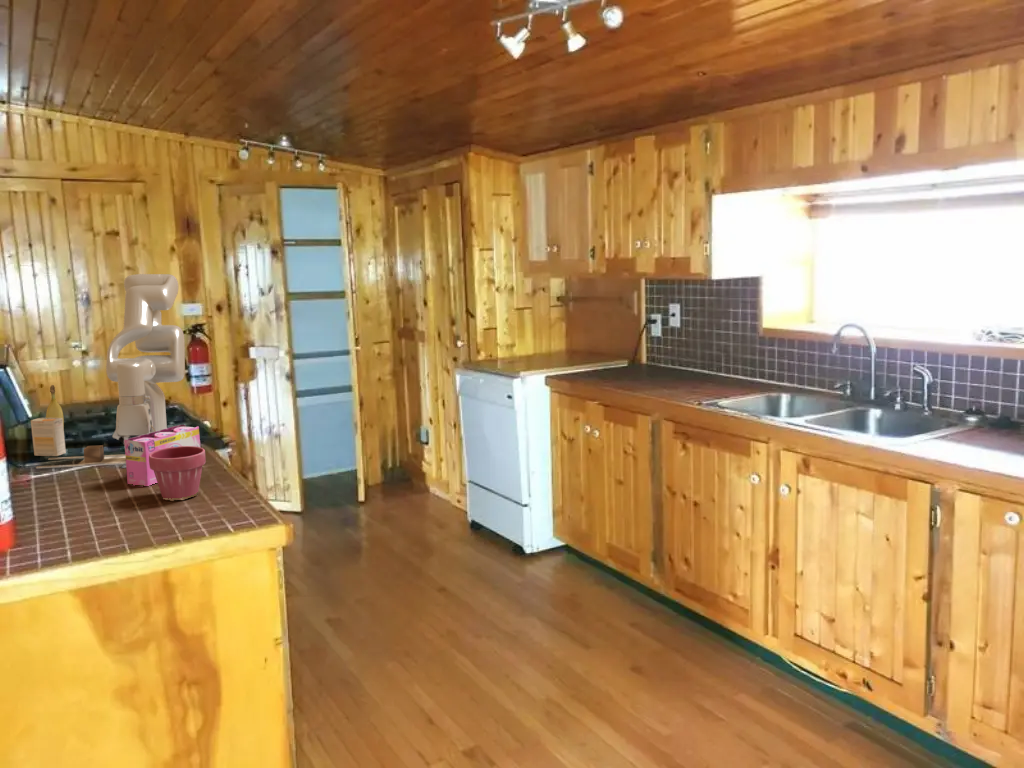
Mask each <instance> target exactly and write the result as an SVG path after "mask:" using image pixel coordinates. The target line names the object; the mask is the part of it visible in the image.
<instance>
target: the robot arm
mask: <svg viewBox="0 0 1024 768" xmlns="http://www.w3.org/2000/svg"><path fill="white" fill-rule="evenodd" d="M123 286H124V287H123V288H124V290H125V297H124V298H125V299H124V314H123V315H124V316H123V318H124V319H123V328H122V330H120V331H119V332H118V333H117V334H116V336H114V337H113V339H112V340H111V342H110V344H109V346H108V347H107V352H106V353H107V354H106V366H105V367H106V369H105V370H106V375H107V378H108V379H109V380H110V381H112V382H115V383H117V389H118V398H119V399H118V400H119V404H117V406H116V407H117V408H116V416H115V417H116V419H115V420H116V421H115V430H114V431H113V434H112V438H113V439H114V440H115V439H116V440H118V441H119V442H121V443H122V444H123V445H124V446H125V443H124V440H125V439H129V438H131V437H137V436H140V435H144V434H148V433H152V432H156V431H159V430H162V429H166V428H168V425H167V424H168V423H167V413H166V412H167V411H166V409H167V408H166V396H165V393H164V391H163V390H162V388H161V387H160V386H159V385H158V383H177V382H181V381H182V380H184V377H185V373H186V372H185V370H186V364H185V363H186V361H185V360H186V358H185V356H186V355H185V353H186V352H185V350H186V349H185V342H186V341H185V335H184V331H183V329H182V328H181V327H180V326H178V325H173V324H162V312H161V311H169V310H170V309H172V307H173V305H174V303H175V301H176V299H177V296H178V292H179V282H178V279H177V278H176V276H175V275H174V274H169V273H168V274H167V273H166V274H165V273H164V274H163V273H161V274H160V273H156V274H155V273H153V274H152V273H145V274H144V273H139V274H138V273H137V274H131V275H128V276H126V277H125V278H124V281H123ZM133 342H134V345H135V347H136V349H137V350H138V352H141V353H169V354H154V355H147V354H146V355H139V356H136V357H133V358H119V354H120V352H121V351H122V349H123V348H124V347H126V346H128V345H129V344H131V343H133Z"/></svg>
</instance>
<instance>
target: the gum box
mask: <svg viewBox="0 0 1024 768" xmlns="http://www.w3.org/2000/svg"><path fill="white" fill-rule="evenodd" d="M200 439H201V438H200V427H199V425H196V427H193V426H186V425H185V424H179V425H174V426H169V427H167V428H166V429H162V430H159V431H156V432H152V433H148V434H144V435H140V436H132V437H130V438H129V439H125V440H124V443H125V445H124V453H125V456H126V468H125V469H126V479H127V481H126V482H127V485H128V484H133V485H132V486H135V485H144V486H149V485H152V484H155V483H157V480H156V476H155V473H154V470H151V469H150V465H149V454H150V453H152V452H154V451H157V450H160V449H164V448H170V447H179V446H195V447H201V440H200ZM155 485H156V484H155ZM152 486H153V485H152ZM149 487H150V486H149Z"/></svg>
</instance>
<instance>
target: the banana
mask: <svg viewBox="0 0 1024 768" xmlns="http://www.w3.org/2000/svg"><path fill="white" fill-rule="evenodd" d="M55 388H56V387H55V385H53V384H51V385H50V387H49V392H50V394H51V395H50V396H51V399H50V403H49V404H48V406H47V408H46V412H45V418H62V419H63V429H64V427H65V426H64V425H65V423H64V422H65V420H64V419H65V418H64V413H63V409H62V406H61V405H60V404H59V402H58V401H57V398H56V395H55V394H56V389H55Z"/></svg>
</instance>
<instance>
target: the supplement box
mask: <svg viewBox="0 0 1024 768" xmlns="http://www.w3.org/2000/svg"><path fill="white" fill-rule="evenodd" d="M30 427H31V436H32V446H33V447H32V448H33V454H34V456H37V457H38V456H41V457H58V456H61V455H64V454H67V453H66V452H67V450H66V441H65V431H64V428H63V419H62V418H46V417H38V418H35V419H30Z"/></svg>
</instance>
